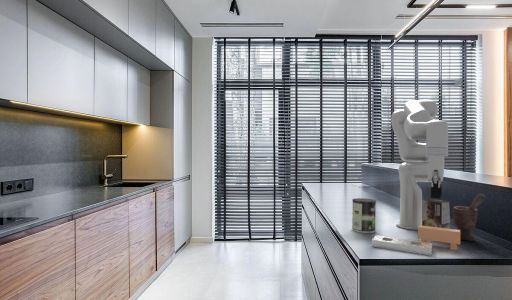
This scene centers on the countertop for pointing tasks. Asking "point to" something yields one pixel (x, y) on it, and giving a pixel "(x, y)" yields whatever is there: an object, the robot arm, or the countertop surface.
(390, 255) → the countertop surface
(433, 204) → the coffee box
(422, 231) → the orange pronged block
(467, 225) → the mortar and pestle
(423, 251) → the flat gray board
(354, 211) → the coffee can
